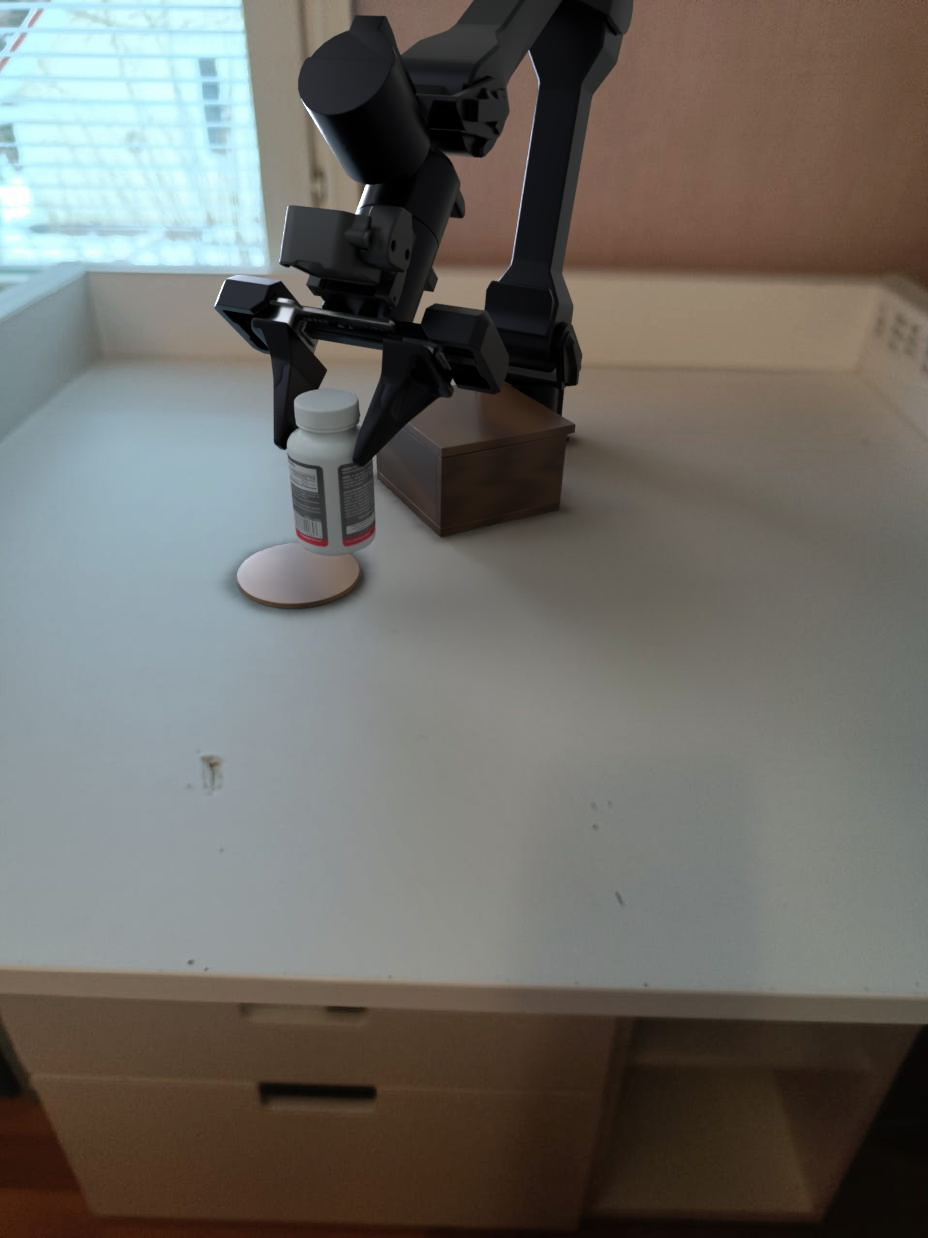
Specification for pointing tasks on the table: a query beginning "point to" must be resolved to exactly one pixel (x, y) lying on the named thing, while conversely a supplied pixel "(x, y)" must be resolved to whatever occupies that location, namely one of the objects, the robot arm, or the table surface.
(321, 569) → the coaster
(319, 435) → the pill bottle
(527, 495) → the chest
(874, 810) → the table surface
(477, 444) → the chest lid
